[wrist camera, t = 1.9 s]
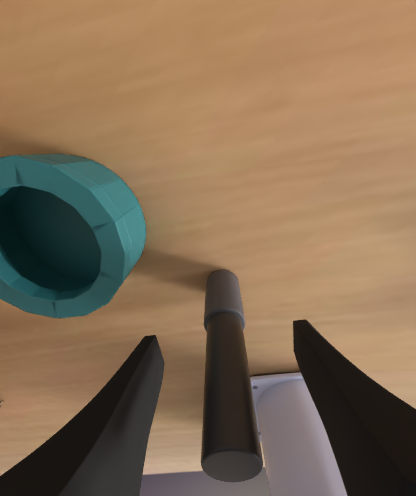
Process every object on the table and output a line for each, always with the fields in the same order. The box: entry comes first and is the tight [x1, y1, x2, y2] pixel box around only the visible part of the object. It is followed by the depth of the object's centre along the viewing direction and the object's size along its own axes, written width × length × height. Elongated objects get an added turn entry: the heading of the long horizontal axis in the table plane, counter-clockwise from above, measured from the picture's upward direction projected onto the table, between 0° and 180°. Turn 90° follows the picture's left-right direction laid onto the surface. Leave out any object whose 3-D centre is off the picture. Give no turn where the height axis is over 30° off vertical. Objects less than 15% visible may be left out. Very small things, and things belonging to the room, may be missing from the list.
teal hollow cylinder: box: [0, 154, 146, 318], centre depth 14 cm, size 9×9×4 cm
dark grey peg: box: [201, 270, 263, 482], centre depth 12 cm, size 2×2×11 cm
